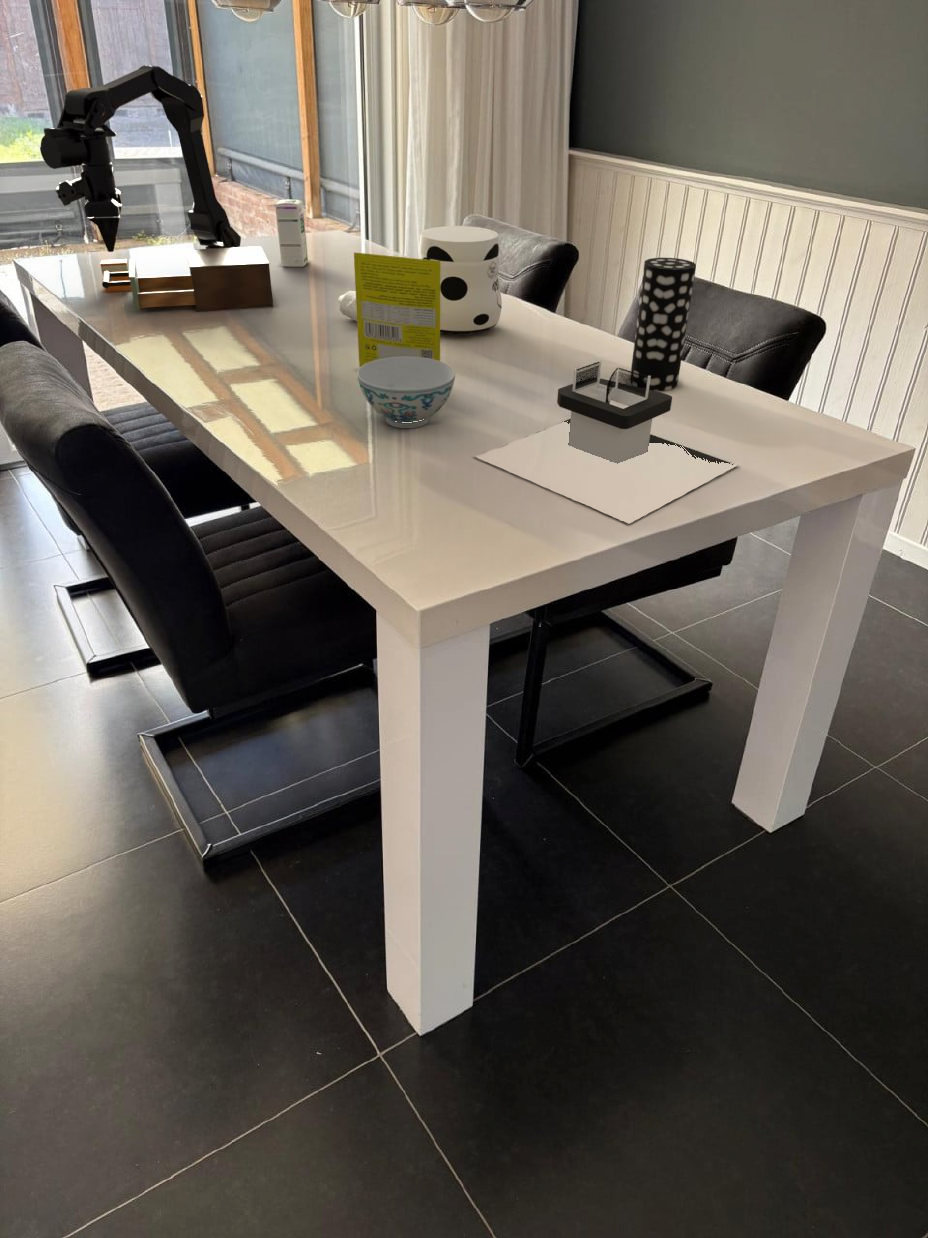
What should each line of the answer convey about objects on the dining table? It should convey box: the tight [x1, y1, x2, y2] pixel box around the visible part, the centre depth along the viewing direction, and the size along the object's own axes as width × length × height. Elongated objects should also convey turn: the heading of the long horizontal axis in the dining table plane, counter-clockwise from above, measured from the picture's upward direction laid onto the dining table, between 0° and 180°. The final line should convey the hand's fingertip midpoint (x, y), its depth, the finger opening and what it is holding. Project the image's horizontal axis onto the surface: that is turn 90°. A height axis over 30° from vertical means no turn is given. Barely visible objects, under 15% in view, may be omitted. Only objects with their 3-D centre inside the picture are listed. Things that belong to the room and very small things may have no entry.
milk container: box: [418, 225, 503, 335], centre depth 177 cm, size 17×17×18 cm
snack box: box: [99, 258, 132, 293], centre depth 200 cm, size 6×3×6 cm, turn 107°
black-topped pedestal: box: [556, 360, 734, 465], centre depth 125 cm, size 28×26×13 cm
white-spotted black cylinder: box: [630, 257, 697, 392], centre depth 152 cm, size 8×8×20 cm
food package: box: [353, 252, 441, 369], centre depth 152 cm, size 15×1×20 cm, turn 71°
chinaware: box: [356, 357, 456, 429], centre depth 139 cm, size 15×15×8 cm
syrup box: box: [274, 198, 309, 268], centre depth 220 cm, size 6×6×14 cm
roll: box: [337, 290, 357, 323], centre depth 184 cm, size 6×12×6 cm, turn 35°
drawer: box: [101, 258, 196, 311], centre depth 191 cm, size 22×16×6 cm
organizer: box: [186, 246, 274, 312], centre depth 194 cm, size 16×16×9 cm
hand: (111, 246), depth 187 cm, fingers open, 9 cm apart
